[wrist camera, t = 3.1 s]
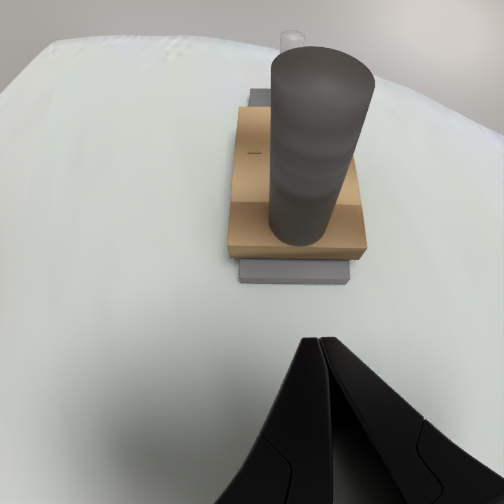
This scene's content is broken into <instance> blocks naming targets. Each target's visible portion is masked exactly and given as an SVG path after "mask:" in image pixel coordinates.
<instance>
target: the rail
mask: <svg viewBox="0 0 504 504" xmlns="http://www.w3.org/2000/svg"><path fill="white" fill-rule="evenodd" d="M304 44H305V35H304V34H303V33H301V32H298V31H292V30H291V31H290V30H289V31H284V32H282V33H281V34H280V54H281V53H283V52H285V51H287V50H290V49H293V48H298V47H304ZM249 107H271V89H250V100H249ZM239 279H240V283H270V284H346V283H347V282H348V281H349V280H350V270H349V260H337V259H280V258H240V271H239Z"/></svg>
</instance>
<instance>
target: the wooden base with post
mask: <svg viewBox="0 0 504 504" xmlns="http://www.w3.org/2000/svg"><path fill="white" fill-rule="evenodd" d="M374 88H375V80H374V77H373V75H372V73H371V72H370V70H369V69H368V68H367V67H366V66H365V65H364V64H363V63H361V62H360V61H358V60H357V59H355V58H354V57H352V56H350V55H348V54H346V53H343V52H341V51H337V50H334V49H330V48H324V47H312V46H309V47H298V48H293V49H290V50H287V51H285V52H283V53H281V54H280V55H278V56H277V57H276V58H275V59H274V61H273V62H272V65H271V107H239V111H238V122H237V132H236V143H235V155H234V166H233V178H232V190H231V202H230V215H229V228H228V242H227V246H228V250H229V254H230V258H280V259H337V260H359V259H360V258H361V256H362V255H363V253H364V252H365V251H366V249H367V242H366V234H365V226H364V219H363V211H362V205H361V198H360V191H359V185H358V179H357V174H356V168H355V162H354V157H353V154H354V151H355V148H356V145H357V142H358V139H359V136H360V133H361V130H362V127H363V123H364V120H365V117H366V114H367V111H368V108H369V104H370V101H371V98H372V95H373V91H374Z"/></svg>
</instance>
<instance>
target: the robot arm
mask: <svg viewBox="0 0 504 504" xmlns="http://www.w3.org/2000/svg"><path fill="white" fill-rule="evenodd" d="M333 503H334V504H504V478H503V477H501V476H500V475H498V474H497V473H495V472H494V471H492V470H491V469H490V468H488V467H487V466H485V465H484V464H482V463H481V462H479V461H478V460H476V459H475V458H474V457H472V456H471V455H469V454H468V453H467V452H465V451H464V450H463V449H461V448H460V447H459V446H457V445H456V444H455V443H453V442H452V441H451V440H450V439H448V438H447V437H446V436H445V435H444V434H442V433H441V432H440V431H439V430H438V429H437V428H435V427H434V426H433V425H432V424H431V423H430V422H429V421H428V420H426V419H425V420H424V417H423V416H422V415H421V414H420V413H419V412H418V411H416V410H415V409H414V408H413V407H412V406H411V405H410V404H409V403H408V402H406V401H405V400H404V399H403V398H402V397H401V396H400V395H399V394H398V393H397V392H395V391H394V390H393V389H392V388H391V387H390V386H389V385H388V384H387V383H386V382H384V381H383V380H382V379H381V378H380V377H379V376H378V375H377V374H376V373H375V372H373V371H372V370H371V369H370V368H369V367H368V366H367V365H366V364H365V363H364V362H363V361H361V360H360V359H359V358H358V357H357V356H356V355H355V354H354V353H353V352H352V351H350V350H349V349H348V348H347V347H346V346H345V345H344V344H343V343H342V342H341V341H340V340H338V339H337V338H336V337H321V338H319V339H318V338H316V337H310V338H302V339H301V340H300V343H299V345H298V348H297V350H296V353H295V355H294V357H293V360H292V362H291V364H290V367H289V369H288V371H287V374H286V376H285V378H284V380H283V383H282V385H281V387H280V390H279V392H278V394H277V396H276V398H275V401H274V403H273V405H272V407H271V409H270V411H269V414H268V416H267V418H266V420H265V422H264V424H263V426H262V428H261V430H260V433H259V435H258V436H257V438H256V440H255V442H254V444H253V446H252V448H251V450H250V452H249V454H248V455H247V457H246V459H245V461H244V463H243V464H242V466H241V468H240V469H239V471H238V472H237V474H236V475H235V477H234V478H233V479H232V481H231V482H230V484H229V485H228V487H227V488H226V489H225V490H224V492H223V493H222V494H221V496H220V497H219V498H218V499H217V501H216V502H215V503H214V504H333Z"/></svg>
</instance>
